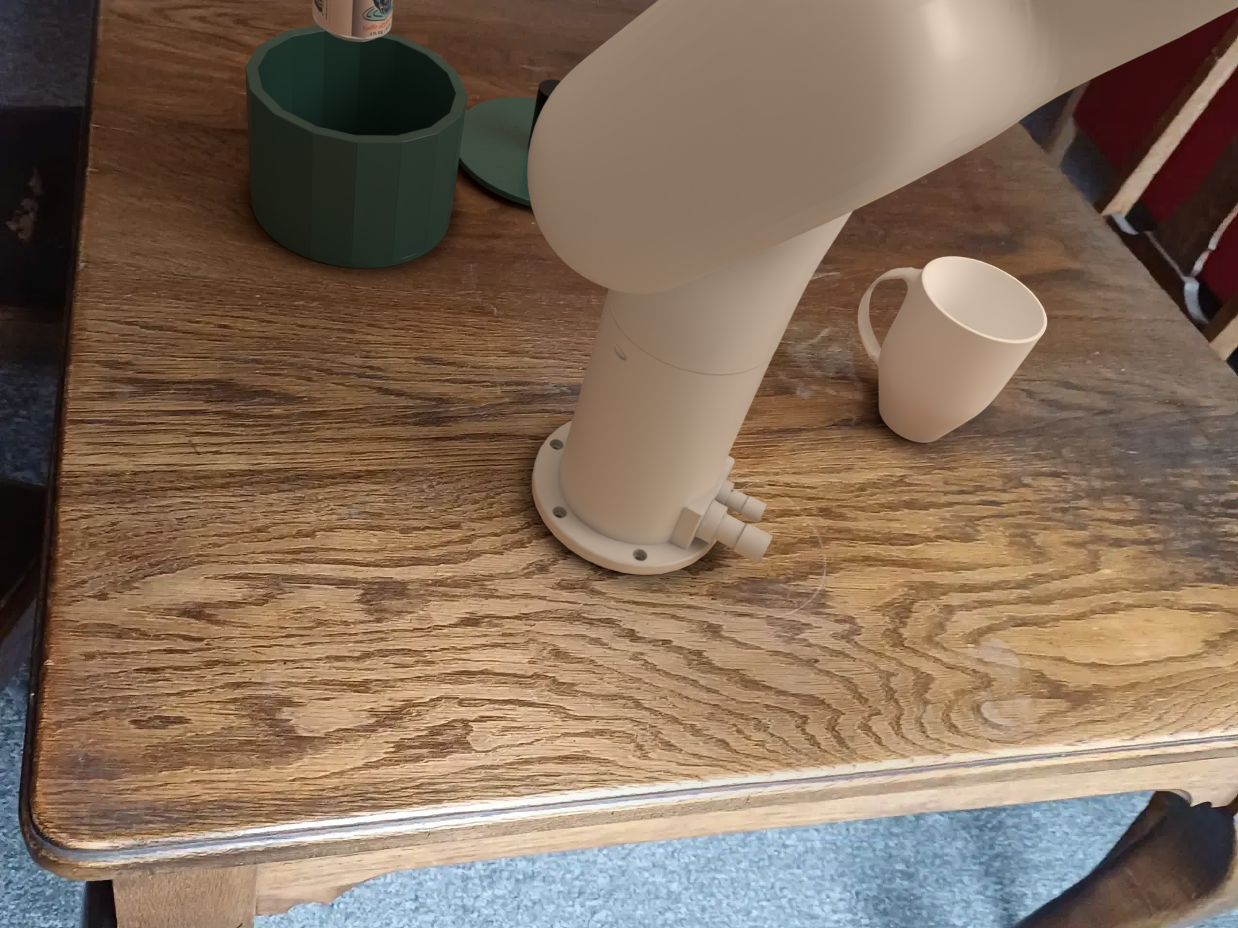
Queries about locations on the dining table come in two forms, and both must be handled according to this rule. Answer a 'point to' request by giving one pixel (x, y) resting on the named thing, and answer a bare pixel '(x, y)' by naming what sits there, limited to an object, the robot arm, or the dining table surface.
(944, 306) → the mug
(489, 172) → the tin lid
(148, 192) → the dining table surface
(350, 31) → the beer can
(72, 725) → the dining table surface
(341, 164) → the tin
